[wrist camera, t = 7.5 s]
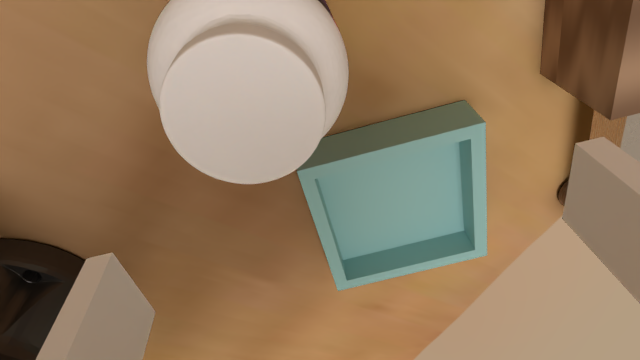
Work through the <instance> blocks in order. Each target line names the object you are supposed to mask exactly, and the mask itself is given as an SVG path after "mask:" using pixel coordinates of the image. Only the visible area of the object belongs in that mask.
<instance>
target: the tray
mask: <svg viewBox="0 0 640 360" xmlns="http://www.w3.org/2000/svg"><path fill="white" fill-rule="evenodd" d="M297 174H298V177H299V179H300V182H301V185H302V188H303V191H304V194H305V197H306V200H307V203H308V206H309V208H310V211H311V214H312V217H313V220H314V223H315V226H316V229H317V232H318V235H319V237H320V240H321V243H322V246H323V249H324V252H325V255H326V258H327V261H328V263H329V266H330V269H331V272H332V275H333V278H334V281H335V284H336V287H337V290H338V291H340V290H344V289H348V288H352V287H357V286H361V285H365V284H369V283H373V282H377V281H382V280H386V279H390V278H394V277H398V276H403V275H407V274H411V273H415V272H419V271H424V270H428V269H432V268H436V267H440V266H444V265H449V264H453V263H457V262H461V261H465V260H470V259H474V258H478V257H482V256H486V255H487V203H486V122H485V121H484V120H483V119H482V118H481V117H480V116H479V115H478V114H477V112H476V111H475V110H474V109H473V108H472V107H471V106H470V105H469V104H468V103H467V102H466V101H465V100H463V101H459V102H455V103H452V104H448V105H444V106H440V107H436V108H433V109H429V110H425V111H421V112H418V113H414V114H410V115H406V116H403V117H399V118H395V119H391V120H388V121H384V122H380V123H376V124H372V125H369V126H365V127H361V128H357V129H354V130H350V131H346V132H342V133H339V134H335V135H331V136H327V137H323V138H322V139H321V140H320V142H319V144H318V146H317V148H316V149H315V151H314V152H313V153H312V155H311V156H310V157H309V158H308V159H307V161H306V162H305V163H304V164H302V165H301V166H300V167H299V168H297Z"/></svg>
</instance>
